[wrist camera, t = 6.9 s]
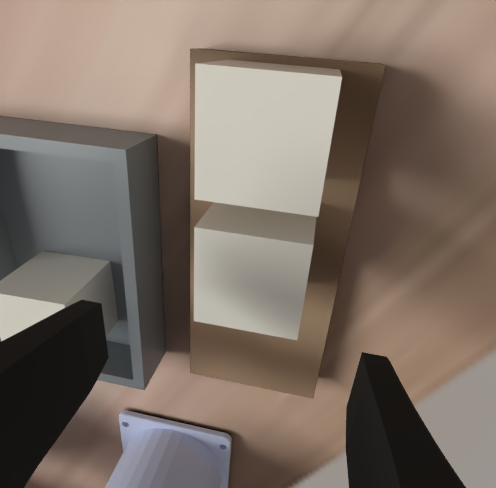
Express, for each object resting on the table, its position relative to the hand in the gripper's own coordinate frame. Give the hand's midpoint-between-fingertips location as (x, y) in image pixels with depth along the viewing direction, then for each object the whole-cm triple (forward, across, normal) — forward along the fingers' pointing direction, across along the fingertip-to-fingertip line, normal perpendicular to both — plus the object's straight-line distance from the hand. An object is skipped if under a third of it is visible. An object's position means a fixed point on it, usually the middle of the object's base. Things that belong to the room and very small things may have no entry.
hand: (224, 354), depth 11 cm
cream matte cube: (+8, +10, +5) cm, 14 cm away
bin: (+9, +10, +3) cm, 14 cm away
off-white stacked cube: (+8, 0, 0) cm, 8 cm away
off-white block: (+8, 0, -5) cm, 9 cm away
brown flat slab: (+9, 0, +1) cm, 9 cm away
